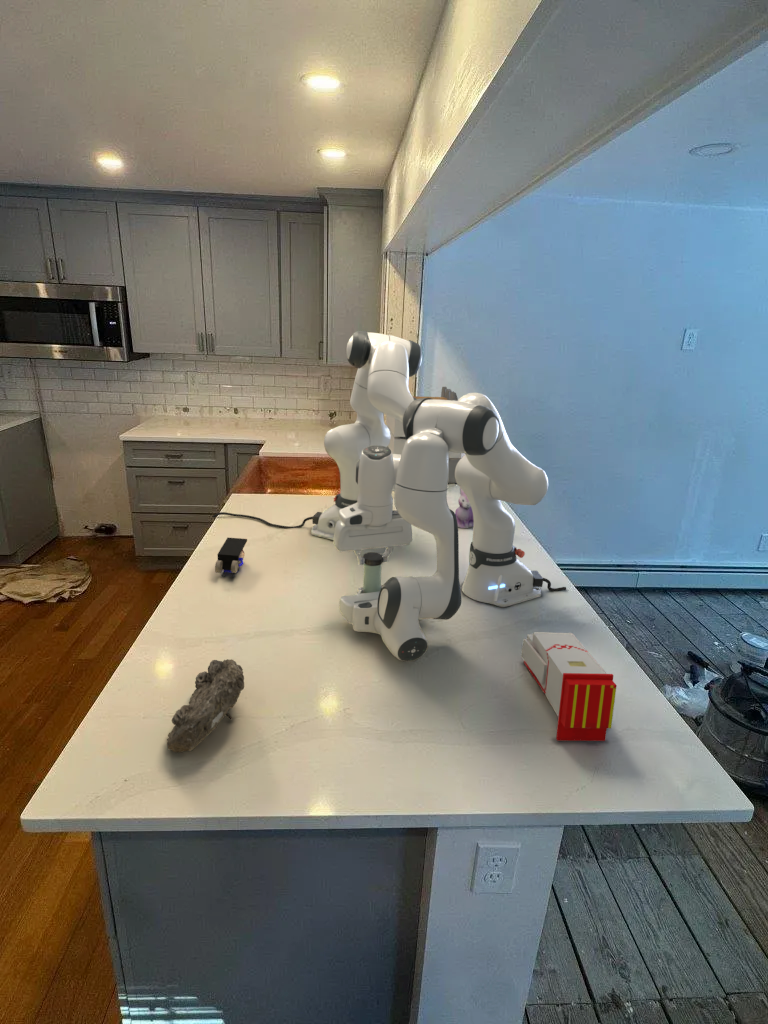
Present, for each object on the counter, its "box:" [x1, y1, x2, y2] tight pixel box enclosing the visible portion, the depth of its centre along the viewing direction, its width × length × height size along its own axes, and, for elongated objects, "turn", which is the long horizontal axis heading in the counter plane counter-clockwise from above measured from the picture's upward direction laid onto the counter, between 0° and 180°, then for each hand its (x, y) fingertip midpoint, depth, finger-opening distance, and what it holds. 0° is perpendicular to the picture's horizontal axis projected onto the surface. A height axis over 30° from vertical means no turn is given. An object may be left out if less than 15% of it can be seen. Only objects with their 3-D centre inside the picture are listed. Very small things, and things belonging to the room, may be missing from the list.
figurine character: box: [214, 537, 248, 578], centre depth 166 cm, size 7×8×15 cm
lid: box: [362, 551, 384, 566], centre depth 145 cm, size 5×5×2 cm
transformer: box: [385, 386, 462, 484], centre depth 268 cm, size 34×33×41 cm
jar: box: [362, 563, 383, 593], centre depth 148 cm, size 5×5×14 cm
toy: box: [520, 631, 618, 742], centre depth 117 cm, size 12×13×30 cm
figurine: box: [454, 487, 474, 529], centre depth 209 cm, size 9×10×15 cm
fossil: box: [166, 658, 245, 754], centre depth 106 cm, size 22×10×15 cm
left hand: (372, 562), depth 146 cm, fingers closed on lid, 5 cm apart
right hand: (370, 588), depth 149 cm, fingers closed on jar, 4 cm apart
